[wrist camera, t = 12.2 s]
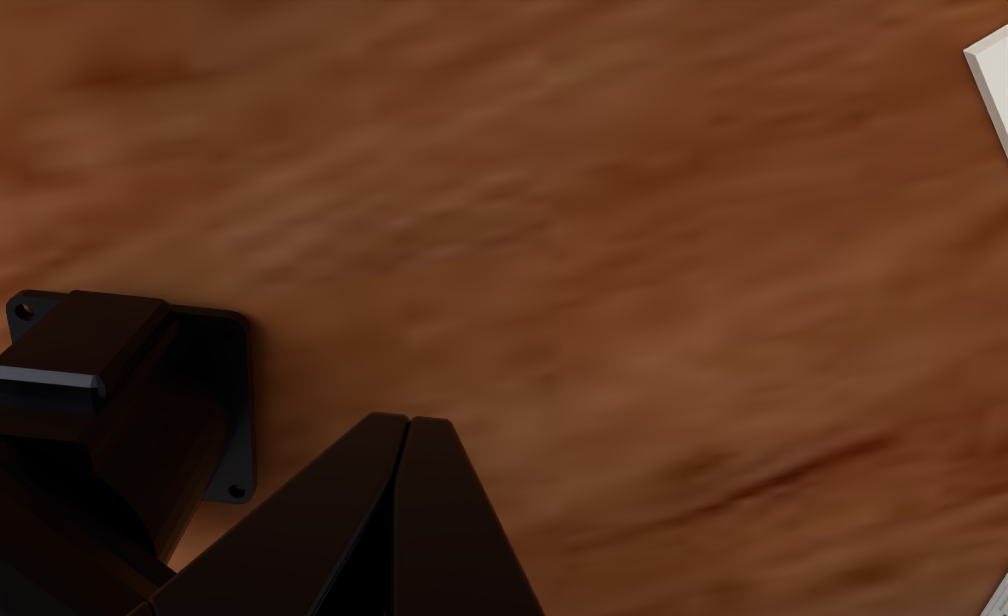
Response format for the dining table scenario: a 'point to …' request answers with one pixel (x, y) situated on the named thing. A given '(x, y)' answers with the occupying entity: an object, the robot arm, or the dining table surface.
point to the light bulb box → (998, 601)
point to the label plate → (992, 77)
